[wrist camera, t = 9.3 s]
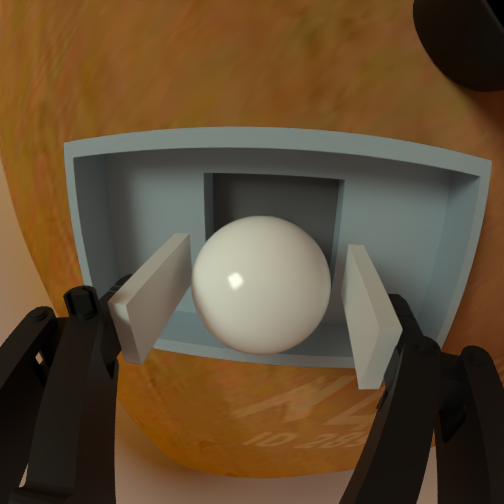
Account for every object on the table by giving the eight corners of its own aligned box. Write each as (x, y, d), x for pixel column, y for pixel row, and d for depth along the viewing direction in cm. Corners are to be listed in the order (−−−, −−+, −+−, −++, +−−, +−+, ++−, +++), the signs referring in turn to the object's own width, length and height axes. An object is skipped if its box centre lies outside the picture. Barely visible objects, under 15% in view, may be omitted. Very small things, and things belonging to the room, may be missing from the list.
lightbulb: (215, 203, 21) (142, 274, 11) (303, 173, 19) (310, 221, 9) (248, 281, 23) (211, 391, 13) (330, 258, 21) (351, 367, 11)
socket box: (114, 136, 20) (63, 142, 14) (445, 150, 17) (491, 161, 12) (132, 297, 25) (99, 336, 20) (411, 318, 22) (433, 365, 17)
